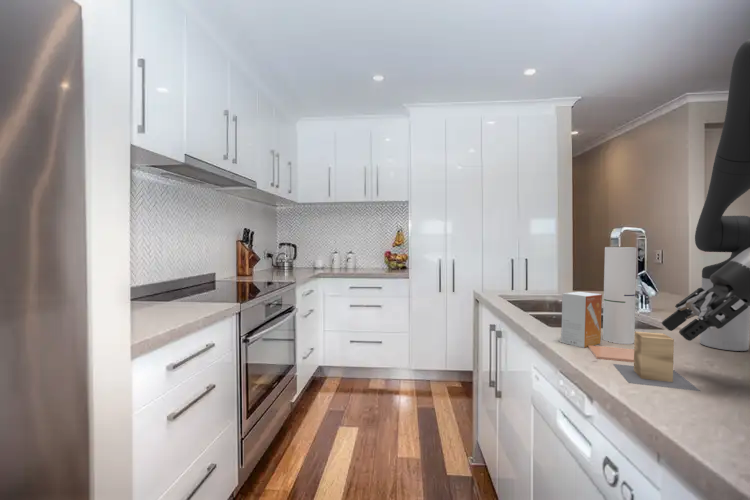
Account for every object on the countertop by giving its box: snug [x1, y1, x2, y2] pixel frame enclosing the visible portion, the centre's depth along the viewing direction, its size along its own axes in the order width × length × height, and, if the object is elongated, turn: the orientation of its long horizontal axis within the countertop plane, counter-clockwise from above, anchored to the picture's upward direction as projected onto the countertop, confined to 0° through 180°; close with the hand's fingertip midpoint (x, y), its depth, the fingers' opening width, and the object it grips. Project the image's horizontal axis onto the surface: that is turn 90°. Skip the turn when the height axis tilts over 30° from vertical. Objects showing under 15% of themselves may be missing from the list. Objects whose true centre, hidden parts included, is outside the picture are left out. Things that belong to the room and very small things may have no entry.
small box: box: [560, 291, 603, 348], centre depth 100 cm, size 8×6×13 cm
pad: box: [587, 345, 634, 363], centre depth 90 cm, size 10×10×1 cm
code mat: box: [612, 363, 701, 392], centre depth 76 cm, size 12×11×1 cm
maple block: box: [633, 331, 675, 382], centre depth 76 cm, size 5×5×8 cm
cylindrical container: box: [602, 246, 637, 345], centre depth 103 cm, size 7×7×25 cm
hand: (674, 331), depth 74 cm, fingers open, 8 cm apart
